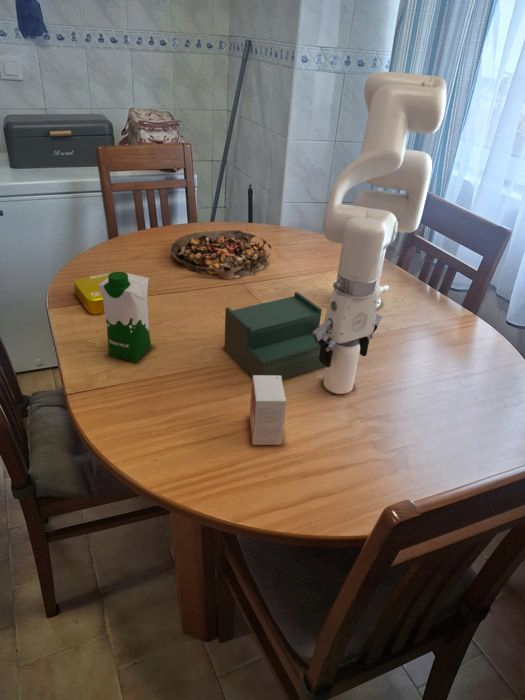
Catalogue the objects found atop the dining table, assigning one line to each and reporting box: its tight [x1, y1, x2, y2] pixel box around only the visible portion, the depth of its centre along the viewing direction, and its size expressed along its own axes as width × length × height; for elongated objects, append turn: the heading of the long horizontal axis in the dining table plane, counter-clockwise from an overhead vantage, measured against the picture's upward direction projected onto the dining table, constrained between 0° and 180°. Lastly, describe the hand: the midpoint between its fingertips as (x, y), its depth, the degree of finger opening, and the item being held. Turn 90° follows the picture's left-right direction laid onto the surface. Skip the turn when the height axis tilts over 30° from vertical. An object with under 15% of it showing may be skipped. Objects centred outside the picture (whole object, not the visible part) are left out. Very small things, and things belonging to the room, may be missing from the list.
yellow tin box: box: [73, 270, 128, 315], centre depth 138 cm, size 15×15×5 cm
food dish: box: [169, 229, 273, 280], centre depth 168 cm, size 35×33×8 cm
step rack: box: [223, 291, 332, 381], centre depth 118 cm, size 17×20×11 cm
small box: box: [249, 375, 287, 446], centre depth 95 cm, size 8×6×10 cm
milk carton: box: [99, 271, 152, 363], centre depth 113 cm, size 9×9×20 cm
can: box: [323, 339, 360, 395], centre depth 108 cm, size 6×6×12 cm
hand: (342, 358), depth 107 cm, fingers open, 9 cm apart
